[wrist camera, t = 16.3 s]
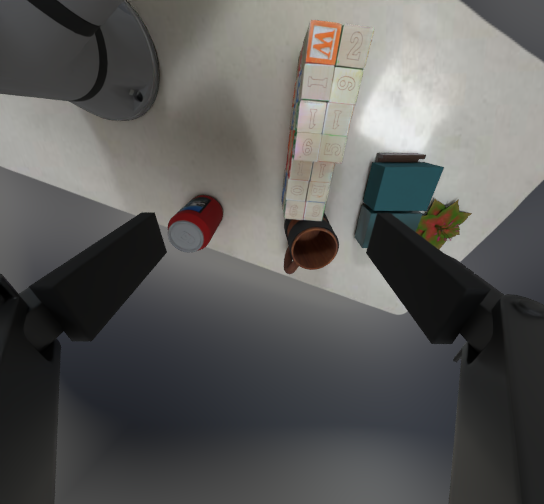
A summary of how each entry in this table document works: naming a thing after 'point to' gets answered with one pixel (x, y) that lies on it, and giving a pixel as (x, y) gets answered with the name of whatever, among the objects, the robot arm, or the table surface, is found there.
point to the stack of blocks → (322, 113)
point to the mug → (309, 244)
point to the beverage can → (195, 224)
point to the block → (401, 186)
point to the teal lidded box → (369, 215)
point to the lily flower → (441, 223)
